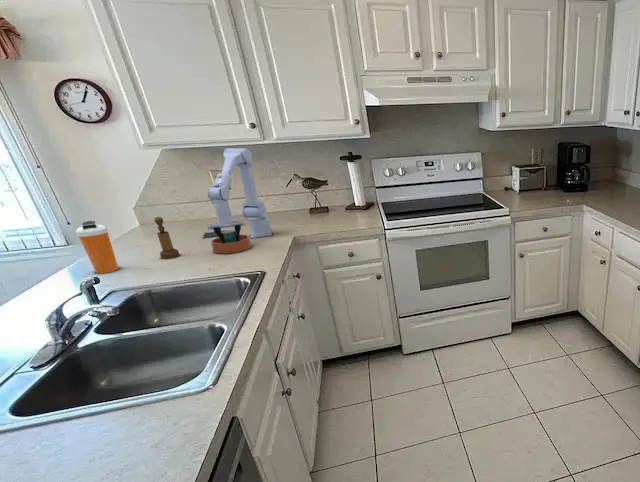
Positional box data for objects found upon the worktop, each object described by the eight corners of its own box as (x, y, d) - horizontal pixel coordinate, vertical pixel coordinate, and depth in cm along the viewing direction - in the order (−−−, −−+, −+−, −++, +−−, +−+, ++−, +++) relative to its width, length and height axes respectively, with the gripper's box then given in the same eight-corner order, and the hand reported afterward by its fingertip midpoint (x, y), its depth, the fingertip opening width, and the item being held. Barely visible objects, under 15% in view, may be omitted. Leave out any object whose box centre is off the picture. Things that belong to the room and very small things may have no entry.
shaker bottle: (119, 265, 174) (101, 218, 166) (124, 269, 168) (106, 222, 161) (90, 270, 167) (71, 223, 160) (94, 276, 162) (74, 226, 154)
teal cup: (239, 245, 197) (235, 229, 194) (239, 248, 192) (235, 232, 189) (226, 247, 194) (221, 231, 191) (225, 250, 190) (221, 233, 187)
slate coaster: (227, 231, 223) (226, 230, 223) (226, 235, 215) (226, 234, 215) (205, 233, 218) (204, 233, 218) (203, 238, 210) (203, 237, 210)
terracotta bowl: (251, 242, 203) (248, 232, 201) (251, 251, 191) (249, 240, 189) (214, 247, 196) (211, 237, 194) (213, 256, 184) (210, 245, 182)
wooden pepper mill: (158, 259, 180) (144, 219, 173) (165, 255, 186) (152, 215, 179) (175, 258, 181) (163, 218, 175) (182, 253, 187) (170, 214, 180)
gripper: (204, 217, 180) (212, 246, 185) (242, 213, 187) (249, 242, 192) (205, 214, 186) (213, 243, 191) (242, 210, 193) (248, 238, 198)
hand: (231, 242), depth 192 cm, fingers closed on teal cup, 5 cm apart
